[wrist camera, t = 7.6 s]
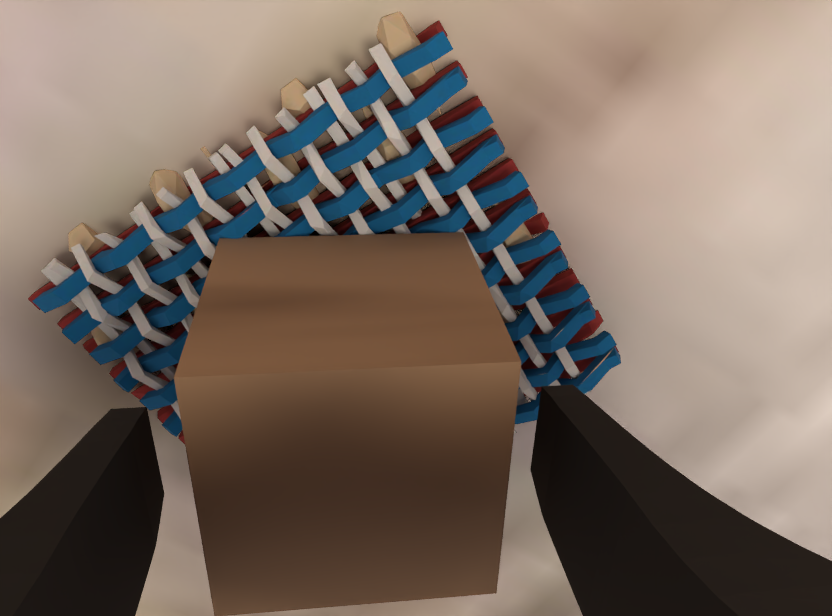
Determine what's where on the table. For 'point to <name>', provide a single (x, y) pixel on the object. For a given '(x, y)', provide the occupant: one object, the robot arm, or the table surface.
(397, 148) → the woven mat
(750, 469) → the table surface
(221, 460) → the cube
